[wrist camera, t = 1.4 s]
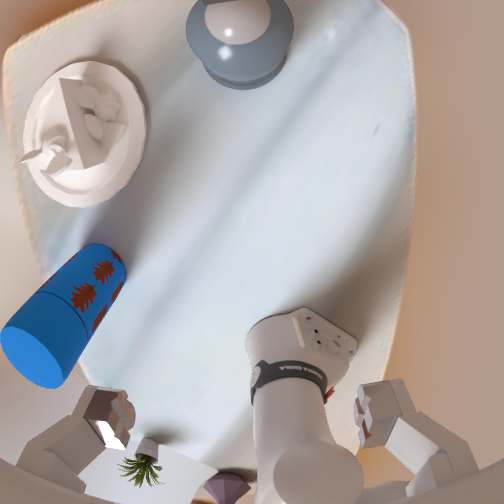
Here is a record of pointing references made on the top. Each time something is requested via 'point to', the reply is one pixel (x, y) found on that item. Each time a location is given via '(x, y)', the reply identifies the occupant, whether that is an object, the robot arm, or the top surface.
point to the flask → (226, 488)
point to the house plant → (144, 461)
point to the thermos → (63, 316)
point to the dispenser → (241, 40)
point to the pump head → (215, 1)
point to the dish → (85, 134)
